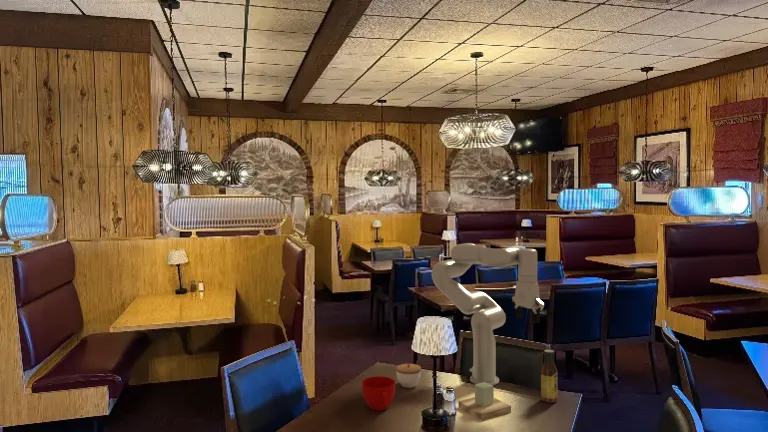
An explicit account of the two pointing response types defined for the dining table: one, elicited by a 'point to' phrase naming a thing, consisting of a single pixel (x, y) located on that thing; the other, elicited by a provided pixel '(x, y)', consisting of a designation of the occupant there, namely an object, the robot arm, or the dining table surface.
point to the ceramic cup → (378, 392)
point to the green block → (484, 394)
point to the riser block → (484, 408)
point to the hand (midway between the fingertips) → (527, 320)
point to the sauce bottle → (549, 378)
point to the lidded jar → (408, 374)
